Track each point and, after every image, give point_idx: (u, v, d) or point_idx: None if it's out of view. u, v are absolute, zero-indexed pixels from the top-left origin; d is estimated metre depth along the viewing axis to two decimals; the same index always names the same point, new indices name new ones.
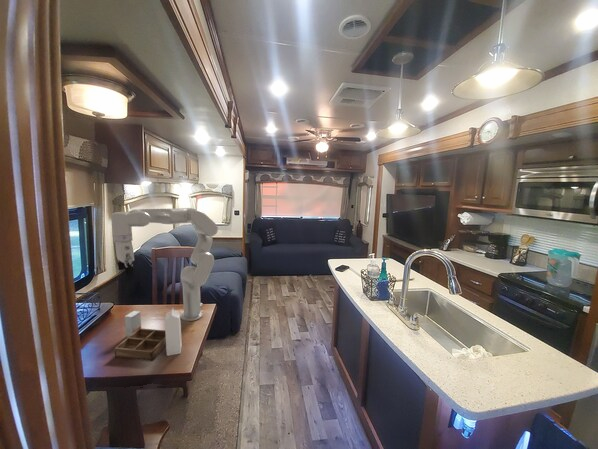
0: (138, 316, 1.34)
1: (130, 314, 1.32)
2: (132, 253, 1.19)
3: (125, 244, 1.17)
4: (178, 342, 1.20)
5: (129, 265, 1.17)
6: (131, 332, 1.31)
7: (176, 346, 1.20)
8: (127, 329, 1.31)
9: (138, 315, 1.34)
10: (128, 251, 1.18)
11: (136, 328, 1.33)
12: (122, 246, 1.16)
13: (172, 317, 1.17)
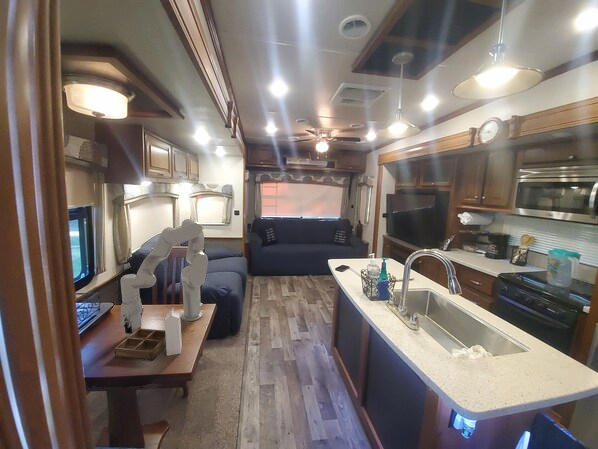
0: (138, 316, 1.34)
1: None
2: None
3: None
4: (178, 342, 1.20)
5: None
6: None
7: (176, 346, 1.20)
8: None
9: (138, 315, 1.34)
10: None
11: (136, 328, 1.33)
12: None
13: (172, 317, 1.17)
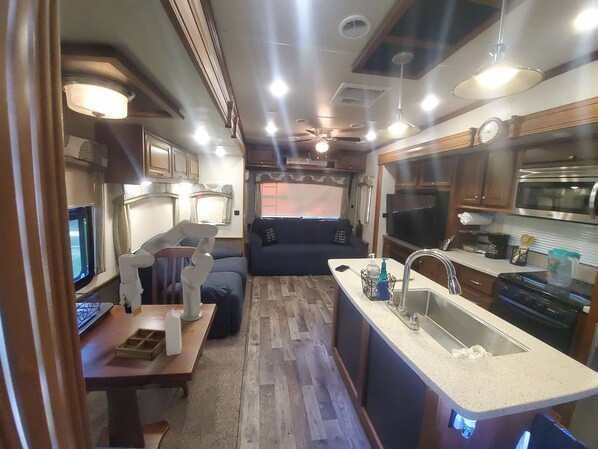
0: (138, 296, 1.32)
1: None
2: None
3: None
4: (178, 342, 1.20)
5: None
6: None
7: (176, 346, 1.20)
8: None
9: (138, 295, 1.32)
10: None
11: (136, 308, 1.32)
12: None
13: (172, 317, 1.17)
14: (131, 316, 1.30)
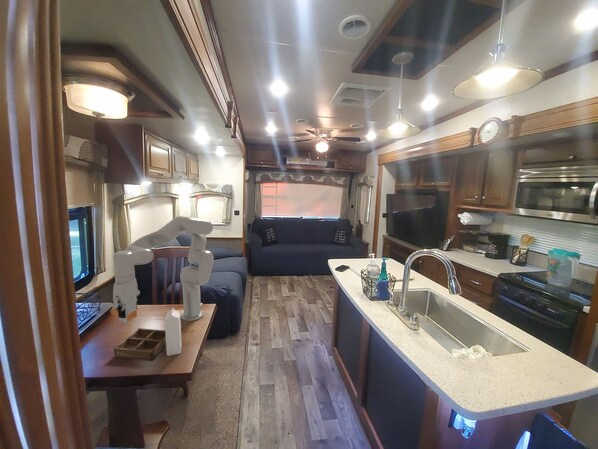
0: (133, 299, 1.18)
1: None
2: None
3: None
4: (178, 342, 1.20)
5: None
6: None
7: (176, 346, 1.20)
8: None
9: (133, 297, 1.18)
10: None
11: (131, 312, 1.18)
12: None
13: (172, 317, 1.17)
14: (125, 321, 1.16)
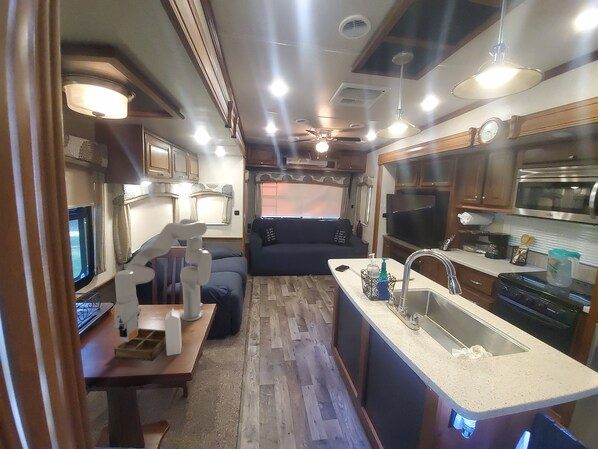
0: (134, 317, 1.19)
1: None
2: None
3: None
4: (178, 342, 1.20)
5: None
6: None
7: (176, 346, 1.20)
8: None
9: (134, 316, 1.19)
10: None
11: (132, 331, 1.18)
12: None
13: (172, 317, 1.17)
14: (126, 340, 1.16)
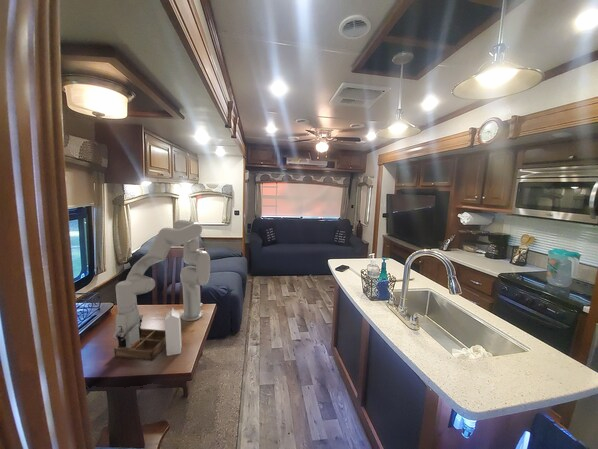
0: (136, 329, 1.21)
1: None
2: None
3: None
4: (178, 342, 1.20)
5: None
6: (129, 348, 1.18)
7: (176, 346, 1.20)
8: None
9: (136, 328, 1.21)
10: None
11: (134, 343, 1.20)
12: None
13: (172, 317, 1.17)
14: None
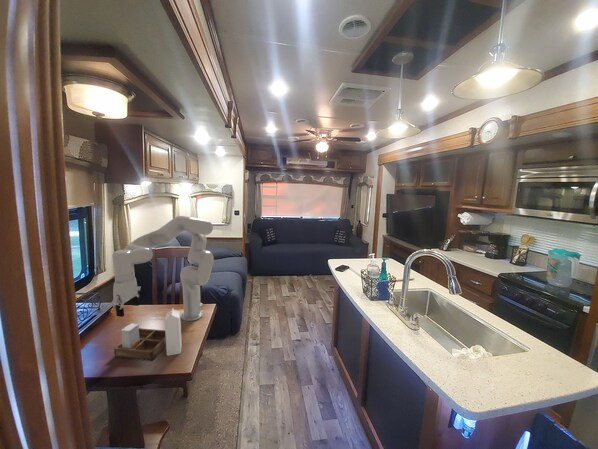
0: (136, 329, 1.21)
1: (127, 327, 1.18)
2: None
3: None
4: (178, 342, 1.20)
5: None
6: (129, 348, 1.18)
7: (176, 346, 1.20)
8: (124, 344, 1.18)
9: (136, 328, 1.21)
10: None
11: (134, 343, 1.20)
12: None
13: (172, 317, 1.17)
14: None
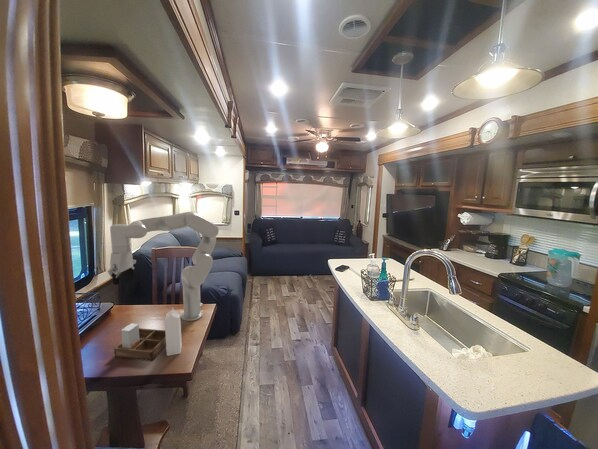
0: (136, 329, 1.21)
1: (127, 327, 1.18)
2: None
3: None
4: (178, 342, 1.20)
5: None
6: (129, 347, 1.18)
7: (176, 346, 1.20)
8: (124, 344, 1.18)
9: (136, 328, 1.21)
10: None
11: (134, 343, 1.20)
12: None
13: (172, 317, 1.17)
14: None
